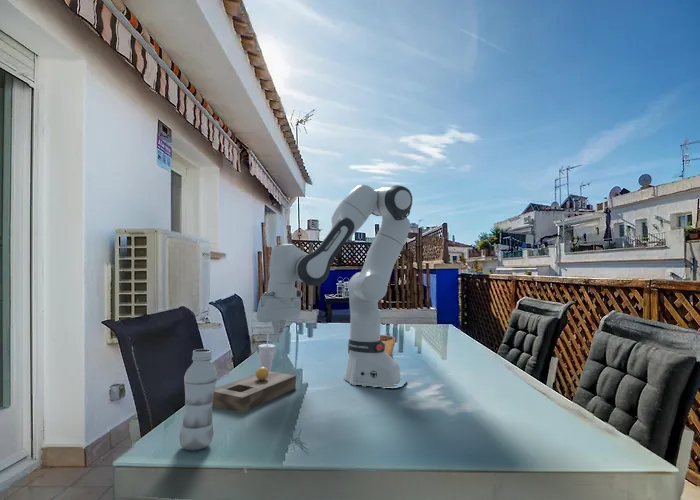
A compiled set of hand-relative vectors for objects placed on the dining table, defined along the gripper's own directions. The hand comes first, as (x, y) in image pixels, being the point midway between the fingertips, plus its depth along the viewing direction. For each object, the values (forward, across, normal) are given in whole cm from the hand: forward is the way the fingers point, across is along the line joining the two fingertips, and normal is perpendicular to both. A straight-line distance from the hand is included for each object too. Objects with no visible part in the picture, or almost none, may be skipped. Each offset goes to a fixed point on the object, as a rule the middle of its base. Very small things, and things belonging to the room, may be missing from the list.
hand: (278, 333), depth 124 cm
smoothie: (+17, +14, +14) cm, 27 cm away
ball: (+11, -8, 0) cm, 14 cm away
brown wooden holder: (+17, -11, 0) cm, 20 cm away
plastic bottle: (+18, -44, -11) cm, 48 cm away
